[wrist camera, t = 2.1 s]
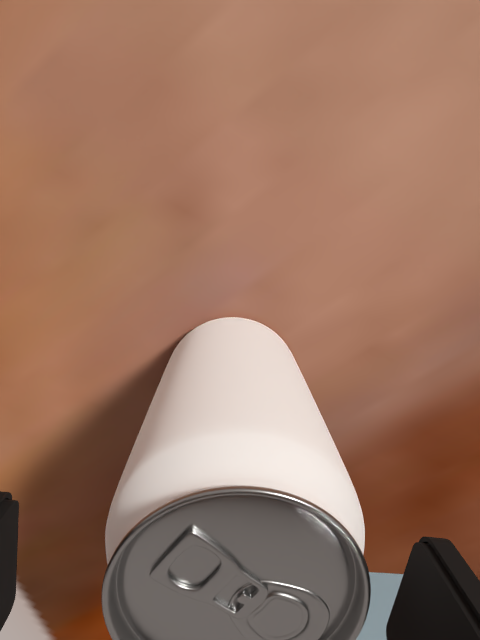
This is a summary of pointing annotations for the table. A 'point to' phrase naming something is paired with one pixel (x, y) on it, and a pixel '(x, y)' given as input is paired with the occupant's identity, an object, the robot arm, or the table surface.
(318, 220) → the table surface
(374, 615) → the pedestal block
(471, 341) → the table surface
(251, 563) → the can
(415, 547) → the robot arm
